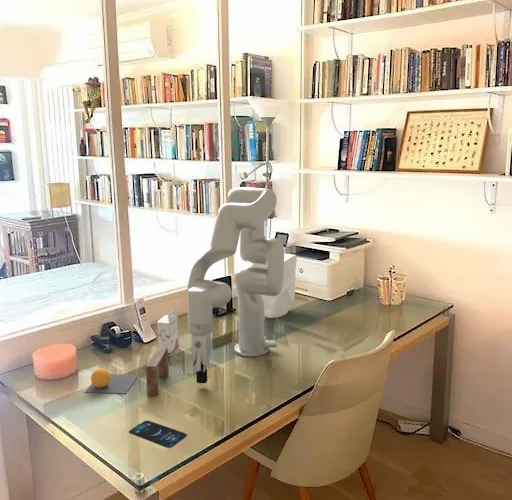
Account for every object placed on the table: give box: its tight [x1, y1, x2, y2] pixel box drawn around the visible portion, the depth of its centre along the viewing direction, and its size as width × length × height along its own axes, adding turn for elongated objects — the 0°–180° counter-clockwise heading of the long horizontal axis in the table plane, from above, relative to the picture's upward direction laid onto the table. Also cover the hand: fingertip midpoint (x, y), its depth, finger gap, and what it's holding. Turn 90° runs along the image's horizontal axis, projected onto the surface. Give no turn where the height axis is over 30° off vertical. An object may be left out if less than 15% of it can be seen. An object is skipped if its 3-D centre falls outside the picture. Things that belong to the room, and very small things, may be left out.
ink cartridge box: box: [156, 307, 179, 354], centre depth 199 cm, size 9×5×15 cm, turn 168°
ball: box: [90, 367, 111, 388], centre depth 170 cm, size 6×6×6 cm
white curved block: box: [232, 253, 297, 319], centre depth 242 cm, size 21×27×26 cm
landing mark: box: [84, 373, 139, 395], centre depth 172 cm, size 13×13×1 cm
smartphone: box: [128, 420, 188, 449], centre depth 144 cm, size 8×1×15 cm
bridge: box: [145, 346, 170, 397], centre depth 170 cm, size 3×15×10 cm, turn 176°
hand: (202, 381), depth 170 cm, fingers closed
